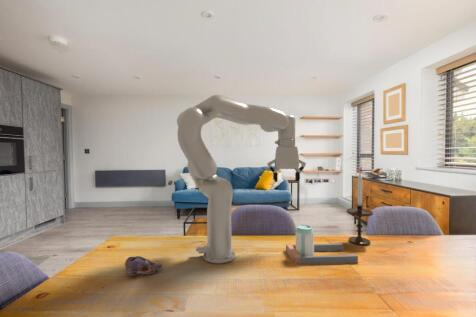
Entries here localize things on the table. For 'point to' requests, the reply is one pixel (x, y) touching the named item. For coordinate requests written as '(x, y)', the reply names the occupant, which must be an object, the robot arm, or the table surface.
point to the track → (321, 259)
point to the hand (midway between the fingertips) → (286, 181)
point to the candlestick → (359, 216)
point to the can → (305, 240)
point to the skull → (141, 266)
